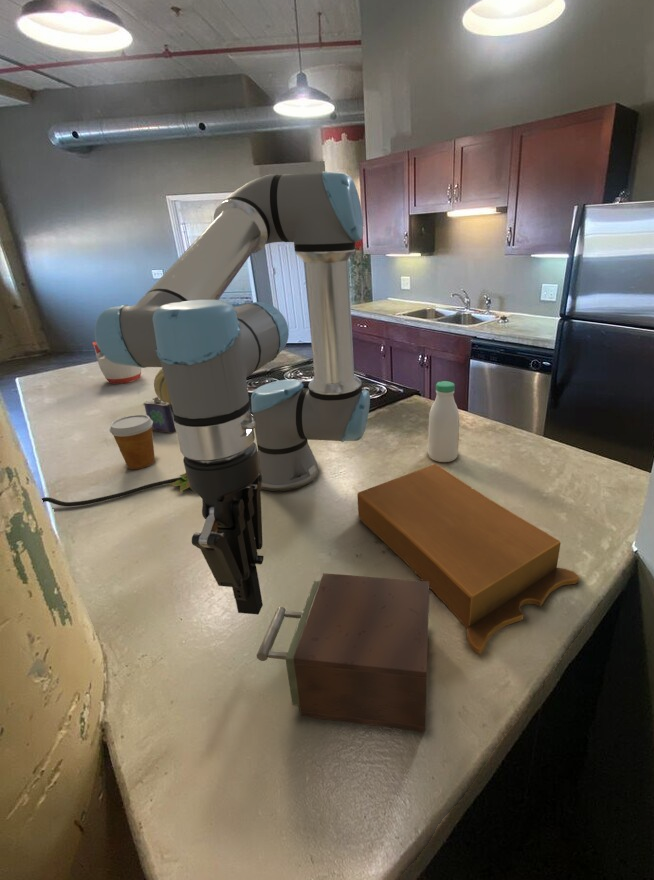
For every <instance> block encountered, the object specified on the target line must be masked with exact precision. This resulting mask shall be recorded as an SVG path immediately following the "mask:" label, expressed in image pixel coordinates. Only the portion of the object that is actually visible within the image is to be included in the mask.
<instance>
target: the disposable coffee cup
mask: <svg viewBox="0 0 654 880" xmlns="http://www.w3.org/2000/svg"><path fill="white" fill-rule="evenodd" d="M152 424H153V421H152V420H151V419H150V417H149V416H147V414H131V415H126V416H123V417H119V418H117V419H115V420H113V421H112V422H111V423H110V428H109V433H110V434H111V435H112V436H113V438H114V440H115V443H116V444H117V445H116V446H117V447H118V449H119V451H120V453H121V456H122V458H123V460H124V463H125V465H126V467H127V468H128V469H130V470H140V469H144V468H148V467H149V466H151V465H153V464H154V463H155V461H156V460H155V449H154V448H155V447H154V446H155V445H154V436H153V430H152Z"/></svg>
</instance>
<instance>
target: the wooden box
mask: <svg viewBox="0 0 654 880" xmlns="http://www.w3.org/2000/svg"><path fill="white" fill-rule="evenodd" d="M356 495H357V513H358V515H357V516H358V518H359V519H360V521H361V522H362V523H363V524H364V525H365V526H366V527H367V528H369V530H370V531H372V533H374V534H375V535H376V536H377V537H378V538H379V539H381V541H382V542H383V543H385V544H386V546H387V547H389V548H390V549H391V550H392V551H393V552H394V553H395V554H396V555H397V556H398V557H399V558H400V559H401V560H402V561H403V562H405V564H406V565H407V566H408V567H409V568H410V569H411V570H412V571H413V572H414V573H415V574H416V575H417V576H418V577H419V579H421V581H428V582H429V589H430V590H432V592H433V593H434V594H435V595H436V596H437V597H438V598H439V599H440V600H441V601H442V602H443V604H445V605H446V607H447V608H448V609H449V610H450V611H451V612H452V613H453V614H454V615H455V616H456V617H457V619H458V620H459V621H460V622H461V623H462V625H463V626H464V627H465V628H466V634H467V642H468V644H469V647H470V649H471V650H472V651H473V652H474V653H477V654H482V653H484V651H485V648H486V645H487V643H488V640H489V639H490V638H491V637H492V636H493V635H494V633H496V632H497V631H499V630H500V629H502V628H503V627H505V626H508V625H511V624H514V623H517V622H521V621H523V619H524V613H522V611H521V607H522V606H524V605H527V604H533V605H537V606H538V607H542V606H543V604H544V603H545V601H546V599H547V598H548V597H549V595H550V594H551V593H552V592H553V591H555V590H556V589H558V588H560V587H562V586H568V585H575V584H577V583H579V580H580V577H579V575H578V574H577V573H576V572H574V571H573V570H569V569H567V568H563V567H558V562H559V556H560V549H561V544H562V543H561V541H560V540H559V539H557V538H556V537H554V536H553V535H550V533H547V532H546V531H544V530H542V529H540V528H539V527H537V526H536V525H534V524H532V523H530V522H529V521H527V520H525V519H523V518H522V517H521V516H518V515H517V514H515V513H514V512H511V511H510V510H509V509H508V508H506V507H504V506H502V505H500V504H499V503H497V502H495V501H494V500H492V499H490V498H488V496H485V495H484V494H482V493H481V492H479V491H478V490H476V489H475V488H472V486H470V485H469V484H467V483H466V482H464V481H462V480H461V479H459V478H458V477H456V476H455V475H454V474H452V473H450V472H449V471H447V470H446V469H444V468H443V467H441V466H440V465H438V464H437V463H434V464H431V465H427V466H426V467H423V468H420V469H417V470H415V471H412V472H410V473H407V474H404V475H401V476H399V477H396V478H394V479H390V480H388V481H385V482H383V483H380V484H378V485H377V484H376V485H375V486H372V487H370V488H366V489H364V490H362V491H359V492H357V494H356Z"/></svg>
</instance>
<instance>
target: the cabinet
mask: <svg viewBox="0 0 654 880" xmlns="http://www.w3.org/2000/svg"><path fill="white" fill-rule="evenodd" d="M319 581H320V583H319V586H318V589H317V592H316V595H315V597H314V600H313V603H312V606H311V609H310V612H309V615H308V618H307V620H306V623H305V626H304V629H303V632H302V635H301V638H300V641H299V643H298V646H297V649H296V652H295V655H294V658H293V659H294V667H295V674H296V682H297V689H298V696H299V704H300V706H299V709H300V717H302V718H303V717H304V718H312V719H319V720H327V721H334V722H335V721H336V722H344V723H352V724H361V725H369V726H376V727H385V728H392V729H401V730H408V731H417V732H426V723H427V722H426V720H427V719H426V718H427V717H426V715H427V687H428V686H427V685H428V683H427V682H428V680H427V679H428V645H429V612H430V611H429V609H430V608H429V607H430V605H429V604H430V587H429V582H428V581H423V580H417V579H416V580H413V579H402V578H389V577H375V576H364V575H363V576H362V575H361V576H360V575H351V574H339V573H325V572H323V573H322V574H321V578H320V580H319Z"/></svg>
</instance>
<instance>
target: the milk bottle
mask: <svg viewBox="0 0 654 880" xmlns="http://www.w3.org/2000/svg"><path fill="white" fill-rule="evenodd" d="M455 387H456V384H455V383H454V382H452V381H447V380H442V381H438V382H436V384H435V393H436V396H435V399H434V401H433V403H432V405H431V406H430V407H431V408H430V410H429V414H428V435H427V437H428V438H427V440H428V441H427V442H428V443H427V454H428V457H429V458H430V459H431V460H432V461H436V462H439V463H450V462H453V461H455V460H456V459H457V458H458V456H459V455H458V454H459V440H460V439H459V437H460V412H459V408H458V406H457V403H456V401H455V397H454V394H455V389H456V388H455Z"/></svg>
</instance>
